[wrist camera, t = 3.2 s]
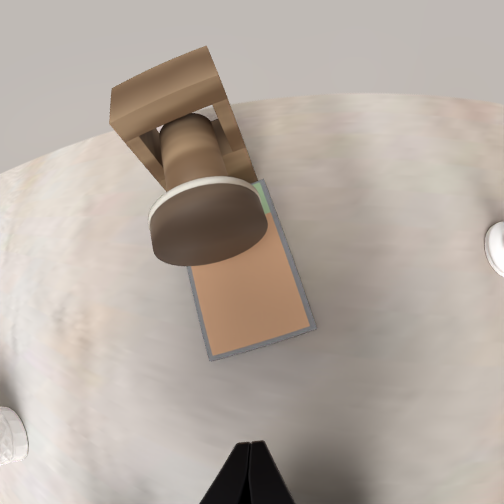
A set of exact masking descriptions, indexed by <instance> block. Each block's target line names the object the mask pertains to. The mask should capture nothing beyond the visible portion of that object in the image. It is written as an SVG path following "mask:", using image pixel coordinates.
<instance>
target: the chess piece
mask: <svg viewBox="0 0 504 504" xmlns="http://www.w3.org/2000/svg"><path fill="white" fill-rule="evenodd" d="M485 252H486V256H487V259H488V261H489V263H490V265H491V266H492V268H493V269H494V270H495V271H496V272H497V273H498V274H499V275H501V276H503V277H504V222H498V223H496V224H495V225H493V226H492V227H490V229H489V230H488V232H487V234H486V237H485Z"/></svg>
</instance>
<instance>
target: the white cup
mask: <svg viewBox="0 0 504 504" xmlns="http://www.w3.org/2000/svg"><path fill="white" fill-rule="evenodd" d="M27 453H28V440H27V435H26V431H25V429H24V426H23V424H22V421H21V420H20V418H19V417H18V415H17V414H16V412H15V411H13V410H12V409H10V408H9V407H0V465H5V464H6V463H11V462H16V461H21V460H24V458H25V457H26V456H27Z"/></svg>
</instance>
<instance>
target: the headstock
mask: <svg viewBox="0 0 504 504" xmlns="http://www.w3.org/2000/svg"><path fill="white" fill-rule="evenodd" d="M209 105H213V107H214V110H215V112H216V114H217V117H218V119H216V120H214V121H211V123H212V125H213V128H214V132H215V135H216V138H217V141H218V145H219V148H220V151H221V154H222V158H223V161H224V164H225V167H226V171H227V174H228V177H234V178H238V179H241V180H244V181H246V182H248V183H250V184H251V183H254V182H257V181H258V180H257V177H256V174H255V171H254V169H253V166H252V163H251V160H250V157H249V155H248V152H247V149H246V146H245V144H244V141H243V138H242V136H241V133H240V130H239V127H238V125H237V122H236V119H235V117H234V114H233V111H232V109H231V106H230V104H229V101H228V98H227V95H226V93H225V90H224V88H223V85H222V83H221V80H220V77H219V75H218V72H217V70H216V67H215V65H214V62H213V60H212V58H211V55H210V53H209V50H208V48H207V46H204V47H202V48H199V49H196V50H194V51H191V52H189V53H186V54H184V55H181V56H179V57H176V58H174V59H172V60H169V61H167V62H164V63H162V64H160V65H158V66H156V67H153V68H151V69H149V70H147V71H145V72H143V73H141V74H139V75H137V76H135V77H133V78H131V79H129V80H127V81H125V82H123V83H121V84H119V85H117V86H115V87H114V88H112V92H111V104H110V121H109V124H110V125H111V126H112V128H113V129H114V130H115V131H116V132H117V134H118V135H119V136H120V137H121V138H122V140H123V141H124V142H125V143H126V144H127V146H128V147H129V148H130V149H131V150H132V152H133V153H134V154H135V155H136V156H137V158H138V159H139V160H140V161H141V162H142V163H143V165H144V166H145V167H146V168H147V169H148V170H149V172H150V173H151V174H152V175H153V176H154V178H155V179H156V180H157V181H158V182H159V183H160V185H161V186H162V187H163V188H164V189H165V190H166V192H167V188H166V181H165V175H164V168H163V161H162V154H161V147H160V140H159V132H158V131H157V129H156V128H157V127H159V126H161V125H164V124H166V123H168V122H171V121H173V120H175V119H177V118H180V117H182V116H185V115H187V114H189V113H192V112H194V111H197V110H199V109H202V108H204V107H207V106H209Z"/></svg>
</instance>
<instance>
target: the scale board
mask: <svg viewBox="0 0 504 504" xmlns="http://www.w3.org/2000/svg"><path fill="white" fill-rule="evenodd" d="M251 185H253V186H254V187H255V188H256V190H257V191H258V193H259V196H260V199H261V204H262V207H263V210H264V213H265V216H266V219H267V222H268V228H267V231H266V233H265V235H264V236H263V238H262V239H261V240H260V241H259V242H258V243H257V244H255V245H254V246H253V247H251V248H250V249H248V250H246V251H245V252H243V253H241V254H239V255H237V256H234V257H232V258H229V259H226V260H223V261H220V262H216V263H212V264H207V265H200V266H187V269H188V274H189V279H190V283H191V287H192V292H193V296H194V301H195V305H196V309H197V313H198V317H199V322H200V326H201V330H202V334H203V338H204V342H205V346H206V349H207V353H208V357H209V361H214V360H218V359H222V358H225V357H229V356H233V355H236V354H240V353H243V352H247V351H250V350H253V349H257V348H260V347H263V346H267V345H270V344H273V343H276V342H279V341H283V340H286V339H289V338H292V337H295V336H298V335H301V334H304V333H307V332H310V331H313V330H316V329H317V327H316V324H315V321H314V318H313V315H312V312H311V309H310V306H309V303H308V301H307V298H306V295H305V292H304V289H303V286H302V283H301V280H300V277H299V274H298V272H297V269H296V266H295V263H294V260H293V257H292V255H291V252H290V249H289V246H288V243H287V241H286V238H285V235H284V232H283V230H282V227H281V224H280V221H279V219H278V216H277V213H276V211H275V208H274V205H273V203H272V200H271V197H270V195H269V192H268V189H267V187H266V184H265V181H264V179H263V180H260V181H257V182H254V183H251Z"/></svg>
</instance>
